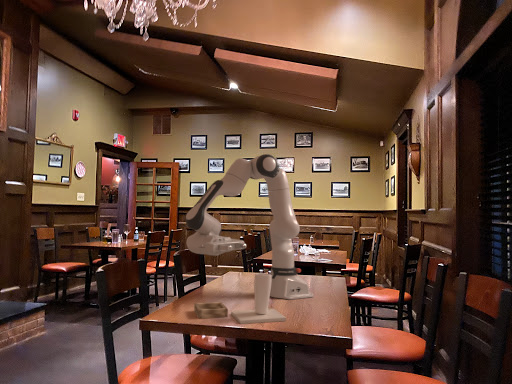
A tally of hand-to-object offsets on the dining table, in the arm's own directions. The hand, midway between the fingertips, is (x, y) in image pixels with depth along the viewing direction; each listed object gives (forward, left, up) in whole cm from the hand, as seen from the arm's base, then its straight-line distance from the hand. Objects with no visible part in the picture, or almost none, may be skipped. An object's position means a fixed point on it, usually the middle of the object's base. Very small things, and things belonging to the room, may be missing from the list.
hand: (237, 247), depth 155 cm
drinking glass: (-8, +9, -25) cm, 28 cm away
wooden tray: (+11, +1, -26) cm, 28 cm away
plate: (-6, +10, -26) cm, 29 cm away
